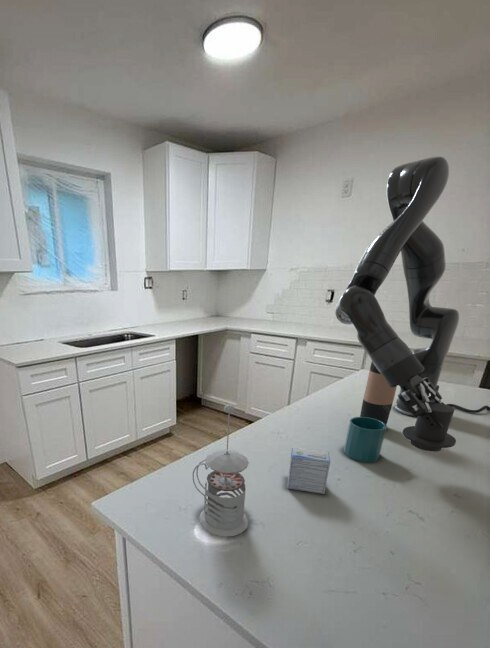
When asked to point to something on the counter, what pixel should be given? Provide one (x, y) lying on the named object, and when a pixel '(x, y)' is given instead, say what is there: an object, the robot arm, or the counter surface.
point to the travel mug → (377, 396)
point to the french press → (224, 512)
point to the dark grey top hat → (432, 439)
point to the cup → (364, 439)
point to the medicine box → (308, 470)
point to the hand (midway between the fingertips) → (441, 424)
